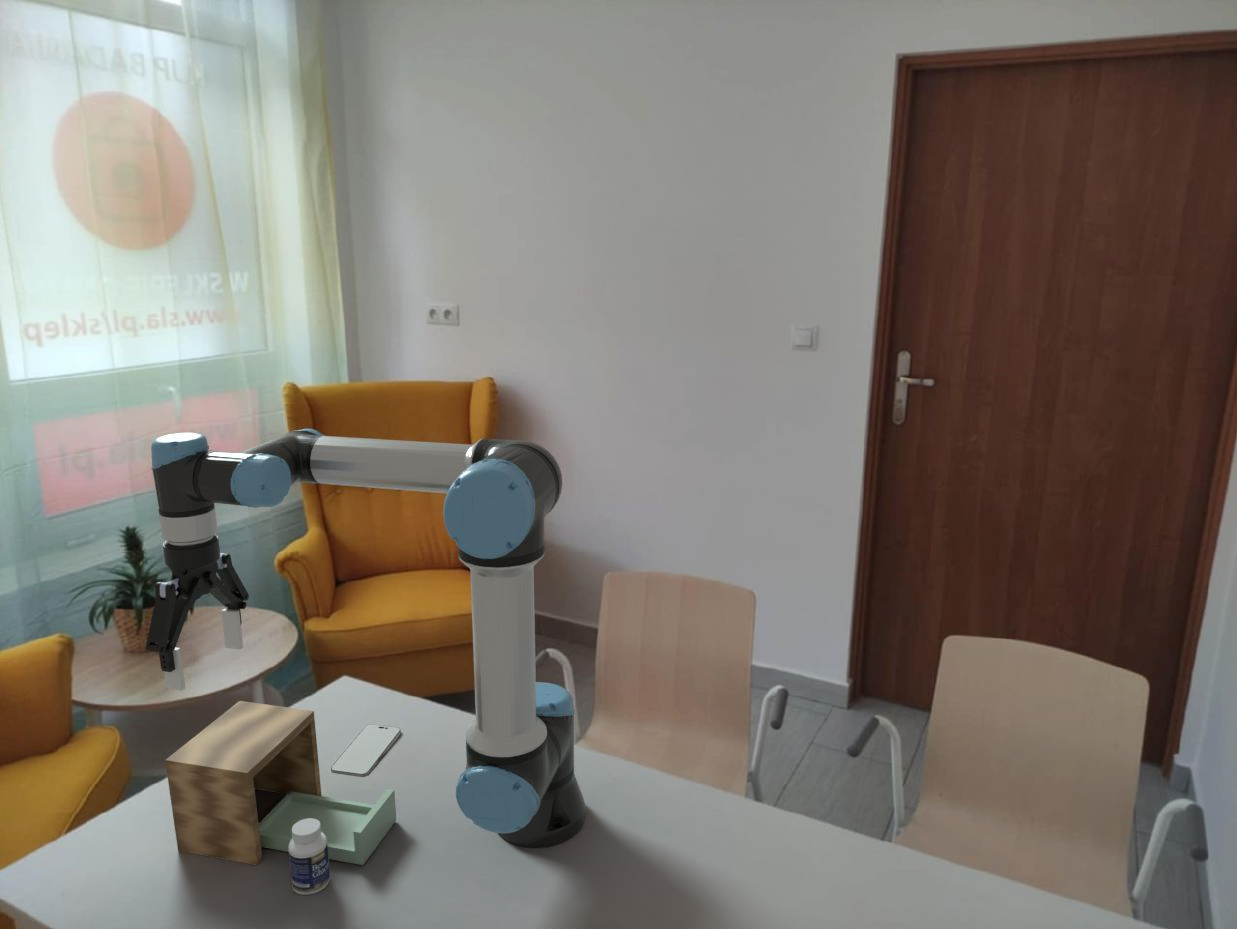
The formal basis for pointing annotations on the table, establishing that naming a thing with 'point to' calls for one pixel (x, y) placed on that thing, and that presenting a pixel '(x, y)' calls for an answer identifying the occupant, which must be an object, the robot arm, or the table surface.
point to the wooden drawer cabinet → (239, 777)
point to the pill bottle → (308, 857)
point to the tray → (332, 823)
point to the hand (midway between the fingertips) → (206, 667)
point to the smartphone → (366, 750)
